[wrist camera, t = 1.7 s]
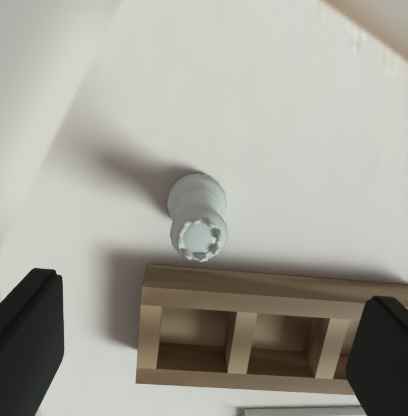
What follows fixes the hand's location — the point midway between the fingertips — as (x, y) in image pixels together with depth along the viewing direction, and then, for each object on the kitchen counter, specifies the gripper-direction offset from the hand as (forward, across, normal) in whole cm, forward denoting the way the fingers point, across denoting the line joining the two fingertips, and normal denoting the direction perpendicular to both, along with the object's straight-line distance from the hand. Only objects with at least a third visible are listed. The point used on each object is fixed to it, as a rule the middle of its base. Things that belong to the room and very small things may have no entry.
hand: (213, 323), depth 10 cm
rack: (+16, -8, +11) cm, 20 cm away
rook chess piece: (+16, 0, +1) cm, 16 cm away
